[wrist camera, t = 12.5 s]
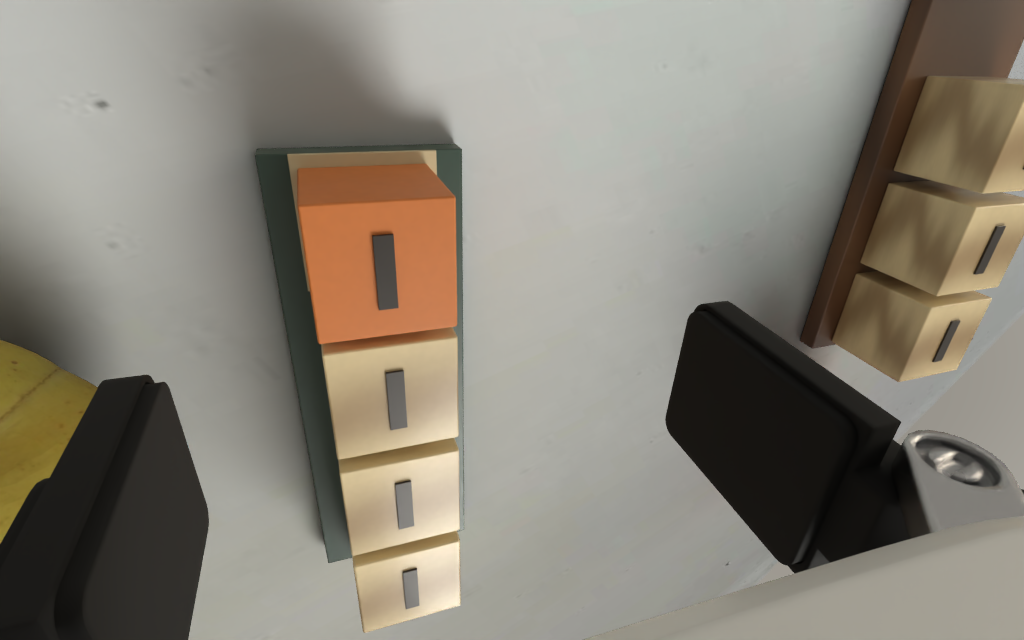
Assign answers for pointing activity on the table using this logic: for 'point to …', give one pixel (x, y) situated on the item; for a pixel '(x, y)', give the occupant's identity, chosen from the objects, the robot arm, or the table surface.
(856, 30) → the table surface
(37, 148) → the table surface
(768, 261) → the table surface
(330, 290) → the orange slotted cube
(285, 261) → the slotted cube rack
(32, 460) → the fruit
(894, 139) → the slotted cubes on board
